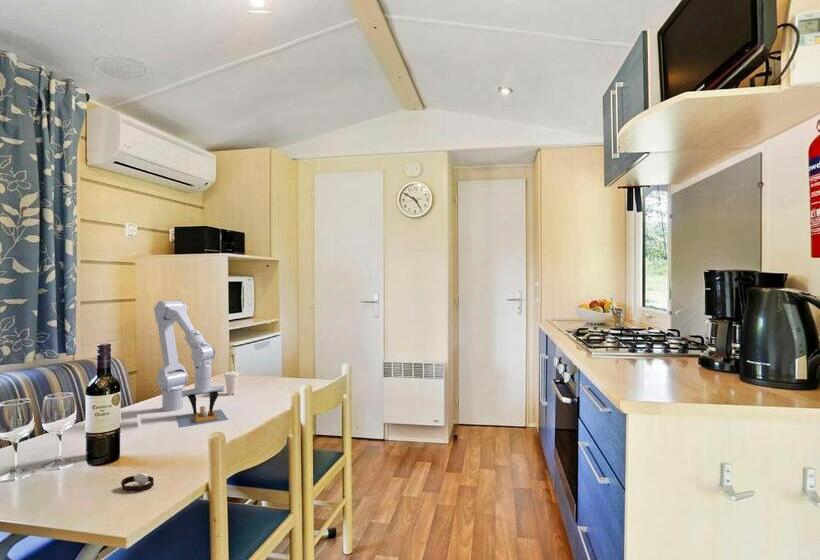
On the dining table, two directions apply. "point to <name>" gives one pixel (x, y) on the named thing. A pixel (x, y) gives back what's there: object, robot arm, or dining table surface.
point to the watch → (140, 479)
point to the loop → (200, 418)
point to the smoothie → (231, 381)
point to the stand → (189, 421)
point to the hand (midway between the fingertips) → (202, 413)
